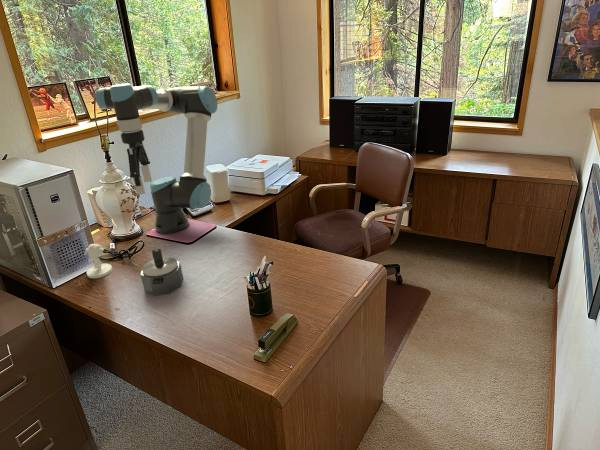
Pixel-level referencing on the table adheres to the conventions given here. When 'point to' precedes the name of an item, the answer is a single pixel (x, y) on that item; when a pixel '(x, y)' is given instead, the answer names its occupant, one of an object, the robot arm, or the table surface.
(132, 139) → the robot arm
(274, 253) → the table surface
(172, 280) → the pot
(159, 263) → the black peg on disc
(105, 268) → the figurine
